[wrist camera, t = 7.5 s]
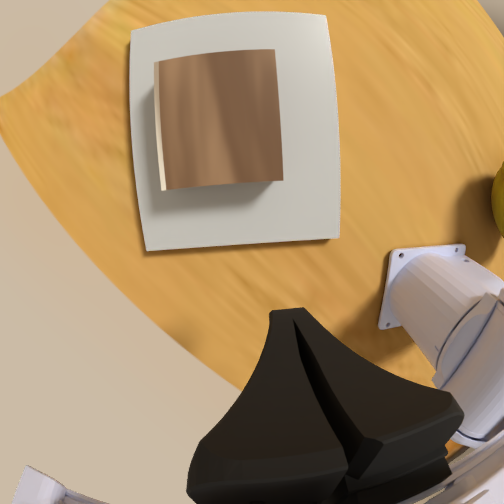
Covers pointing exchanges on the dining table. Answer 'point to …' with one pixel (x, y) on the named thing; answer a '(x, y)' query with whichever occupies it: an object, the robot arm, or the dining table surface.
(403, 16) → the dining table surface
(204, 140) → the slab
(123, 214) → the dining table surface
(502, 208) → the lemon
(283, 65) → the board
